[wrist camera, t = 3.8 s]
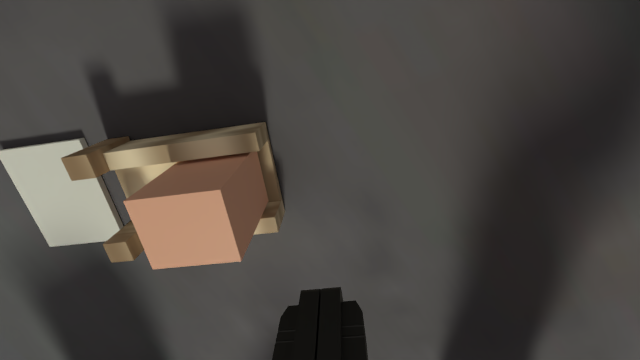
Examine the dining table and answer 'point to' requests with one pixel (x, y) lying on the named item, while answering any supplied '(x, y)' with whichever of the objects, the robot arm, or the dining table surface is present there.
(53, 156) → the felt mat
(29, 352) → the dining table surface
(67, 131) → the dining table surface
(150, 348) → the dining table surface
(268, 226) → the chute
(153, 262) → the block
